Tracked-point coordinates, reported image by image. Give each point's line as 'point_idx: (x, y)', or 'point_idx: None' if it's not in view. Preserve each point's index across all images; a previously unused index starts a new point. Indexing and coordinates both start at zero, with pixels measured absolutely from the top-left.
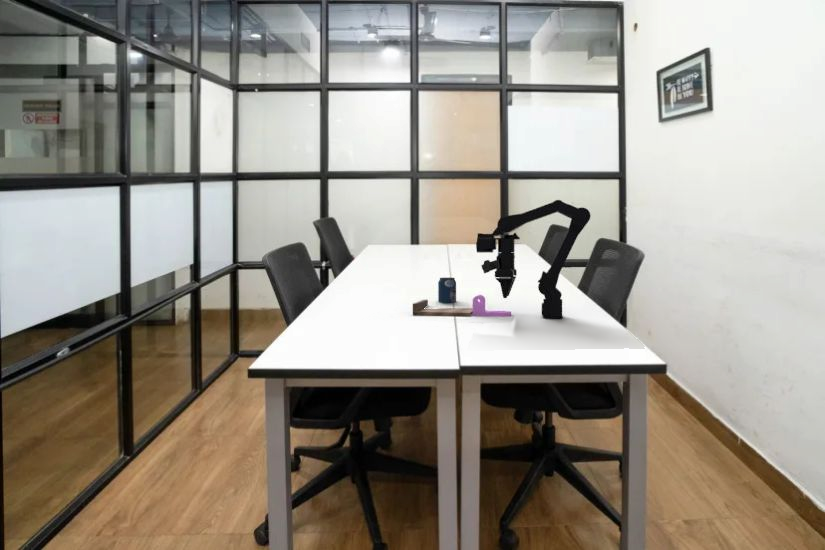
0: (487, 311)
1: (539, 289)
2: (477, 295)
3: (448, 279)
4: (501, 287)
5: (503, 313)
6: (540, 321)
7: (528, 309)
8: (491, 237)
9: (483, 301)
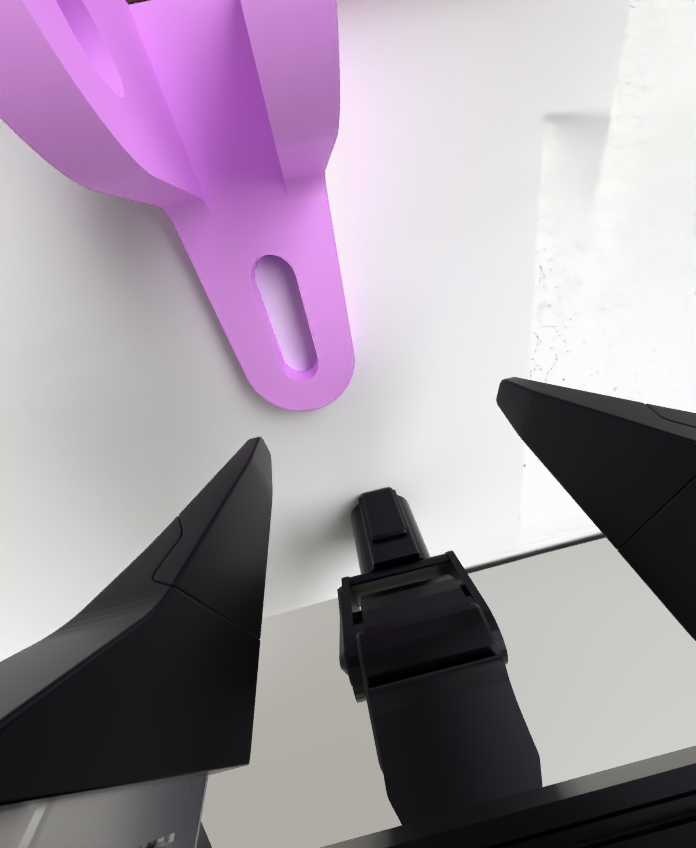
0: (249, 234)
1: (364, 624)
2: None
3: None
4: (161, 537)
5: (249, 380)
6: None
7: (620, 385)
8: None
9: (106, 188)
